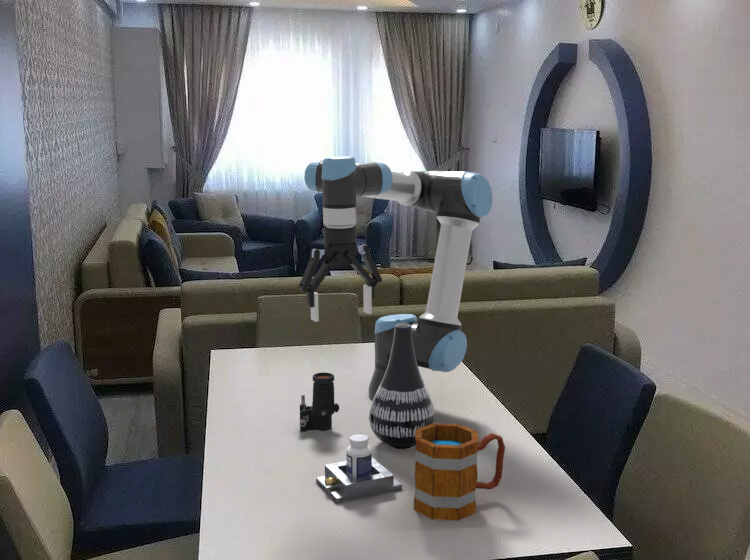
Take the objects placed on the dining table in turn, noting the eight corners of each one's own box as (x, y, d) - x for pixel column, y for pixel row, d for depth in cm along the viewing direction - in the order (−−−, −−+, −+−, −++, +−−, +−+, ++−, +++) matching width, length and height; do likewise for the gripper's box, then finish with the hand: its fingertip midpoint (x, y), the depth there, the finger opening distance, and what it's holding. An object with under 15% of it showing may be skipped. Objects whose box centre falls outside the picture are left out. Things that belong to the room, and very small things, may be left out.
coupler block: (378, 469, 178) (378, 454, 177) (401, 489, 168) (402, 473, 168) (316, 481, 171) (316, 466, 171) (336, 503, 162) (336, 487, 161)
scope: (299, 371, 203) (338, 370, 204) (299, 422, 205) (338, 421, 206) (298, 381, 195) (339, 380, 196) (299, 434, 197) (339, 433, 198)
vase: (388, 462, 182) (389, 337, 176) (357, 438, 195) (357, 321, 190) (447, 449, 189) (450, 329, 183) (413, 427, 203) (415, 314, 197)
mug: (426, 525, 153) (428, 452, 150) (401, 495, 165) (402, 426, 163) (517, 511, 159) (520, 440, 156) (487, 482, 172) (489, 416, 169)
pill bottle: (375, 477, 171) (375, 434, 169) (366, 487, 166) (367, 443, 164) (351, 473, 173) (351, 431, 171) (342, 484, 168) (342, 440, 166)
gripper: (380, 219, 189) (381, 306, 194) (282, 227, 178) (285, 319, 182) (396, 223, 183) (396, 313, 187) (295, 232, 171) (298, 327, 176)
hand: (341, 316), depth 185 cm, fingers open, 13 cm apart
